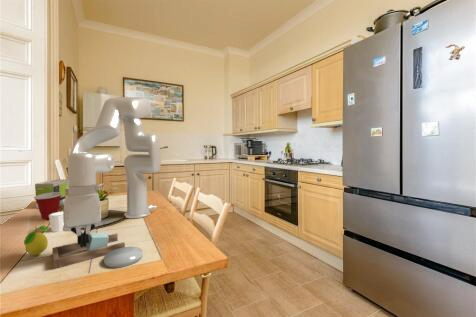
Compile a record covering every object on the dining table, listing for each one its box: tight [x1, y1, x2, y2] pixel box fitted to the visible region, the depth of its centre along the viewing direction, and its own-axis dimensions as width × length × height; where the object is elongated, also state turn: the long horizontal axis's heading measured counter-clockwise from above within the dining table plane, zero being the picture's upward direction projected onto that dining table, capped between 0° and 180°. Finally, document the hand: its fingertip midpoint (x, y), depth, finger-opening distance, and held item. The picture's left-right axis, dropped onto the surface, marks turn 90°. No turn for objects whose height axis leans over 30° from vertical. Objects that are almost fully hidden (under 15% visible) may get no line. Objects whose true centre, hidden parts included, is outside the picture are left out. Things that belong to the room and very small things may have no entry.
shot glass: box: [49, 211, 64, 233], centre depth 98 cm, size 7×7×7 cm
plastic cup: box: [33, 192, 62, 221], centre depth 112 cm, size 11×11×12 cm
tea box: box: [34, 178, 68, 210], centre depth 136 cm, size 15×10×15 cm
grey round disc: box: [103, 246, 143, 269], centre depth 73 cm, size 11×11×2 cm
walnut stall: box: [52, 233, 126, 270], centre depth 77 cm, size 19×11×2 cm, turn 131°
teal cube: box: [85, 232, 109, 251], centre depth 78 cm, size 5×5×5 cm
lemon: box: [23, 225, 49, 256], centre depth 75 cm, size 7×6×10 cm
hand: (83, 245), depth 75 cm, fingers closed
